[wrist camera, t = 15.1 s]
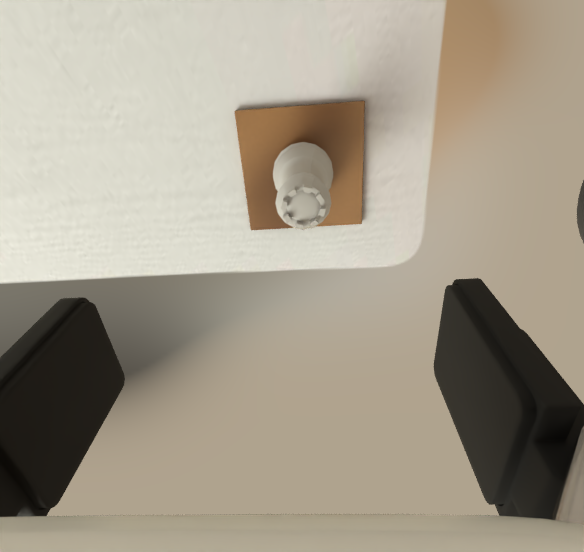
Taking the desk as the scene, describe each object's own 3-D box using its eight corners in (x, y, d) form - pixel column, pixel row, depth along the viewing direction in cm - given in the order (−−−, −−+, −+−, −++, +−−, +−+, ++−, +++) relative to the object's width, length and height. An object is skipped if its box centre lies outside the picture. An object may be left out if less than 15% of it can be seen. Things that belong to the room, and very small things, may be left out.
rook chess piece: (286, 130, 26) (280, 155, 20) (342, 155, 27) (357, 187, 20) (264, 187, 29) (253, 228, 22) (318, 208, 29) (323, 255, 22)
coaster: (363, 100, 26) (364, 101, 25) (361, 222, 30) (361, 223, 30) (235, 110, 26) (234, 111, 26) (251, 228, 31) (250, 230, 30)
